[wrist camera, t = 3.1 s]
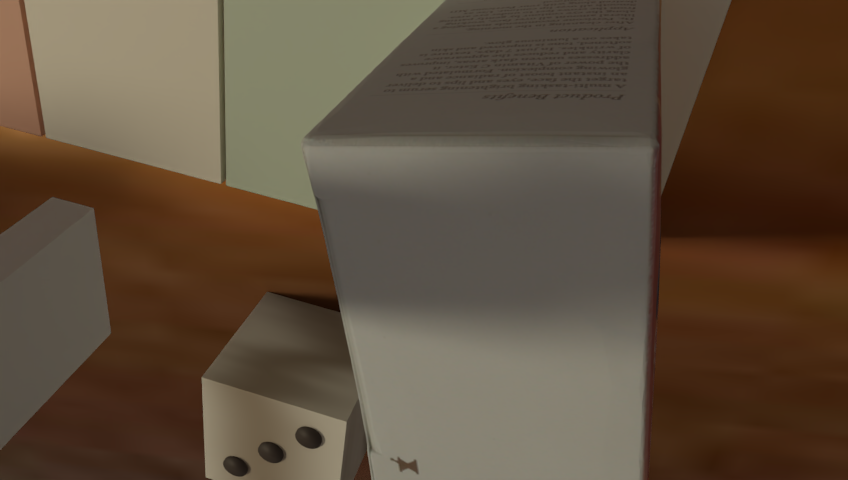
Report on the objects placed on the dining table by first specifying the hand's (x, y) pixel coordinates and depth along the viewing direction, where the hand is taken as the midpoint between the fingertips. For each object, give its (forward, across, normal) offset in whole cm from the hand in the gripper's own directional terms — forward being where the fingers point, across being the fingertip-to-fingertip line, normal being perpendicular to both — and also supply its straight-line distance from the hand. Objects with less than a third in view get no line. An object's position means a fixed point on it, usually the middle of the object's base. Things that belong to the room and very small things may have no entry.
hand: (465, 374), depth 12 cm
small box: (+12, 0, 0) cm, 12 cm away
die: (+12, +6, +12) cm, 18 cm away
